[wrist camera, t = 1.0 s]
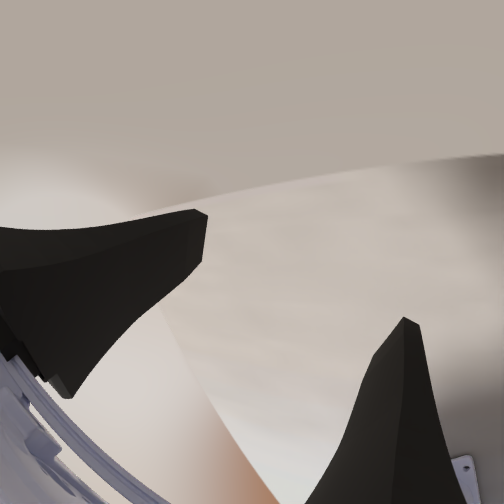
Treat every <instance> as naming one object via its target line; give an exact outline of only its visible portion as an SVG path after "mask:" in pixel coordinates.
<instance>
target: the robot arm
mask: <svg viewBox="0 0 504 504" xmlns="http://www.w3.org/2000/svg"><path fill="white" fill-rule="evenodd" d="M207 220H208V215H206V214H204V213H202V212H200V211H198V210H196V209H189V210H183V211H177V212H172V213H167V214H162V215H157V216H152V217H148V218H143V219H138V220H133V221H127V222H122V223H116V224H111V225H105V226H98V227H89V228H80V229H61V230H27V229H14V228H5V227H0V504H109V503H107V502H106V501H105V500H104V499H103V498H101V497H100V496H99V495H98V494H97V493H95V492H94V491H93V490H92V489H91V488H89V487H88V486H87V485H86V484H85V483H84V482H83V481H82V480H81V479H79V478H78V477H77V476H76V475H75V474H74V473H73V472H72V471H71V470H70V469H69V468H68V467H67V466H66V465H65V464H64V463H63V462H62V461H61V460H60V459H59V458H58V457H57V456H56V455H57V454H58V453H59V452H60V451H61V450H62V448H61V447H60V445H59V444H58V443H57V441H56V440H55V439H54V437H53V436H52V435H51V434H50V433H49V432H48V431H47V429H46V428H45V427H44V426H43V425H42V424H41V423H40V422H39V421H38V420H37V419H36V417H35V416H34V415H33V414H32V413H31V412H30V411H29V406H30V402H31V404H32V405H33V406H34V407H35V409H36V410H37V411H38V412H39V414H40V415H41V416H42V417H43V418H44V419H45V421H46V422H47V423H48V424H49V425H50V426H51V428H52V429H53V430H54V431H55V432H56V433H57V434H58V435H59V436H60V438H61V439H62V440H63V441H64V442H65V443H66V444H67V445H68V446H69V447H70V448H71V449H72V450H73V451H74V452H75V453H76V454H77V455H78V456H79V457H80V458H81V459H82V460H83V461H84V462H85V463H86V464H87V465H88V466H89V467H90V468H92V470H93V471H95V472H96V473H97V474H98V475H99V476H100V477H101V478H102V479H103V480H105V481H106V482H107V483H108V484H109V485H110V486H112V487H113V488H114V489H115V490H116V491H118V492H119V493H120V494H121V495H123V496H124V497H125V498H126V499H128V500H129V501H130V502H132V503H133V504H171V503H169V502H168V501H166V500H165V499H163V498H162V497H160V496H159V495H157V494H156V493H155V492H153V491H152V490H151V489H149V488H148V487H146V486H145V485H144V484H143V483H141V482H140V481H139V480H137V479H136V478H135V477H133V476H132V475H131V474H130V473H128V472H127V471H126V470H125V469H124V468H122V467H121V466H120V465H119V464H118V463H116V462H115V461H114V460H113V459H112V458H111V457H109V456H108V455H107V454H106V453H105V452H104V451H103V450H102V449H100V448H99V447H98V446H97V445H96V444H95V443H94V442H93V441H92V440H91V439H90V438H89V437H88V436H87V435H85V433H84V432H83V431H82V430H81V429H80V428H79V427H78V426H77V425H76V424H75V423H74V422H73V421H72V420H71V419H70V418H69V417H68V416H67V415H66V414H65V413H64V412H63V411H62V409H61V408H60V407H59V406H58V405H57V404H56V403H55V402H54V400H53V399H52V398H51V397H50V396H49V395H48V393H47V392H46V391H45V390H44V389H43V387H42V386H41V385H40V384H39V383H38V381H37V380H36V379H35V377H36V376H39V377H40V378H41V379H42V381H43V382H47V381H48V382H49V383H50V384H51V386H53V388H54V389H55V390H56V391H57V392H58V394H59V395H60V396H61V397H62V398H64V399H72V398H73V397H74V395H75V394H76V392H77V391H78V389H79V388H80V386H81V385H82V383H83V382H84V381H85V379H86V378H87V376H88V375H89V373H90V372H91V371H92V370H93V368H94V367H95V366H96V364H97V363H98V362H99V361H100V360H101V358H102V357H103V356H104V355H105V354H106V352H107V351H108V350H109V349H110V348H111V347H112V345H113V344H114V343H115V342H116V341H117V340H118V338H120V337H121V336H122V334H123V333H124V332H125V331H126V330H127V329H128V328H129V327H130V326H131V325H132V324H133V323H134V322H135V321H136V320H137V319H138V318H139V317H141V316H142V315H143V314H144V313H145V312H146V311H148V310H149V309H150V308H151V307H153V306H154V305H155V304H156V303H157V302H159V301H160V300H161V299H162V298H164V297H165V296H166V295H167V294H168V293H170V292H171V291H172V290H173V289H174V288H176V287H177V286H178V285H179V284H180V283H182V282H183V281H184V280H185V279H186V278H187V277H188V276H189V275H190V274H191V273H192V272H193V270H194V269H195V268H196V267H197V266H198V265H199V264H200V263H201V262H202V255H203V248H204V241H205V234H206V227H207ZM465 466H469V467H470V468H468V469H466V468H464V467H465ZM305 504H481V501H480V494H479V488H478V482H477V477H476V472H475V467H474V462H473V458H472V457H471V456H470V455H464V456H461V457H458V458H455V459H450V456H449V452H448V449H447V446H446V443H445V439H444V435H443V432H442V428H441V425H440V421H439V417H438V413H437V408H436V404H435V399H434V395H433V391H432V386H431V381H430V376H429V371H428V366H427V361H426V355H425V350H424V345H423V340H422V335H421V330H420V326H419V324H417V323H415V322H413V321H411V320H409V319H407V318H405V317H403V318H402V319H401V320H400V322H399V323H398V324H397V326H396V327H395V328H394V330H393V331H392V332H391V334H390V335H389V336H388V338H387V339H386V340H385V341H384V343H383V344H382V345H381V346H380V348H379V349H378V350H377V351H376V353H375V354H374V355H373V357H372V360H371V362H370V364H369V367H368V369H367V371H366V374H365V376H364V378H363V380H362V383H361V386H360V390H359V393H358V396H357V399H356V402H355V405H354V407H353V410H352V413H351V416H350V419H349V422H348V425H347V427H346V430H345V433H344V435H343V438H342V440H341V442H340V445H339V447H338V449H337V451H336V453H335V455H334V457H333V458H332V460H331V462H330V464H329V466H328V467H327V469H326V471H325V473H324V474H323V476H322V478H321V479H320V481H319V483H318V484H317V486H316V487H315V489H314V491H313V492H312V494H311V495H310V497H309V498H308V500H307V501H306V503H305Z"/></svg>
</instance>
